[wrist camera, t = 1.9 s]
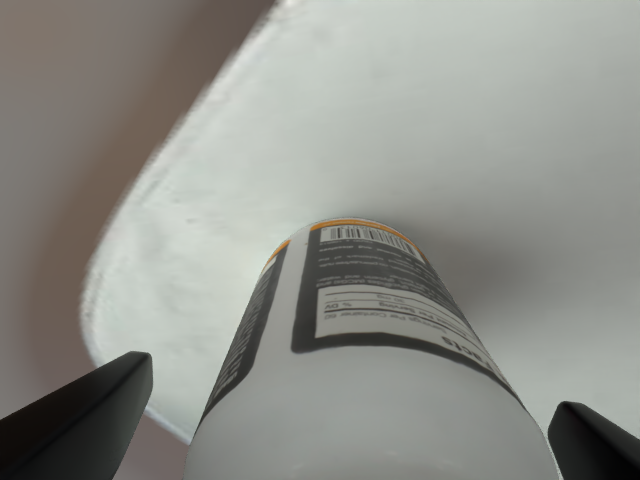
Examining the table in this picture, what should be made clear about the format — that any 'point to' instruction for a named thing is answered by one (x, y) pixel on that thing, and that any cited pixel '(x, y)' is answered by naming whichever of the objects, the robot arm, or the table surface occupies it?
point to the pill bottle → (360, 374)
